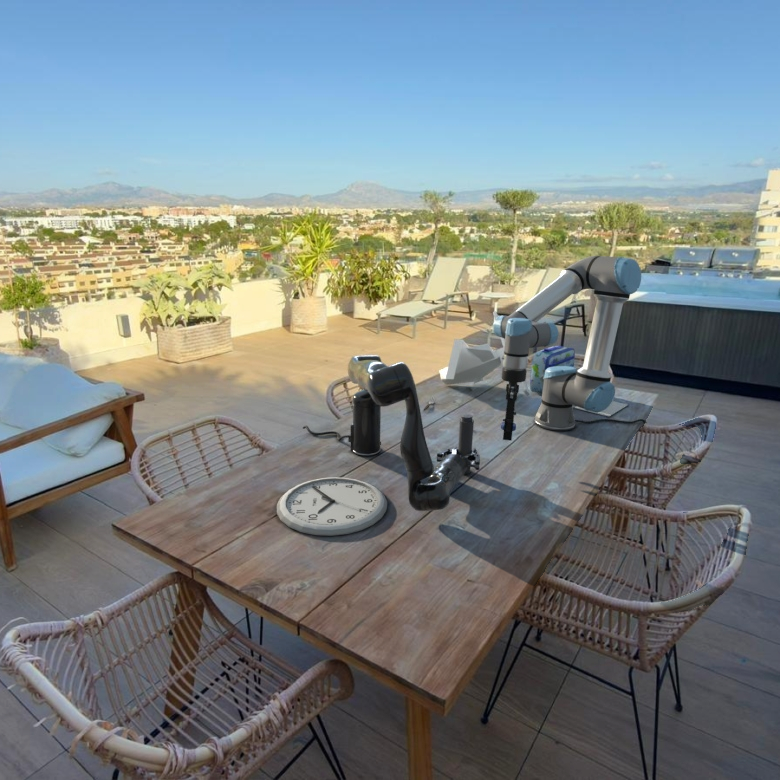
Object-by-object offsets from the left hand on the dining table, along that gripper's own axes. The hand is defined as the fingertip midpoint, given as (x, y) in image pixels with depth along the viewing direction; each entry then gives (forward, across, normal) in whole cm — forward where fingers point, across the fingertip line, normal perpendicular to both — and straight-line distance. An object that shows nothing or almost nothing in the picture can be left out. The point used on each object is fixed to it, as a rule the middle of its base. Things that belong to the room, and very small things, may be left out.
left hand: (467, 449), depth 165 cm
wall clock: (-39, +26, +6) cm, 47 cm away
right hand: (+13, -10, -2) cm, 16 cm away
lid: (+13, -10, -6) cm, 17 cm away
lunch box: (+98, -11, +6) cm, 99 cm away
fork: (+50, +32, +6) cm, 60 cm away
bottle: (-3, 0, +6) cm, 7 cm away
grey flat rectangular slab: (+85, -34, +6) cm, 92 cm away
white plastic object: (+80, +18, +6) cm, 82 cm away
